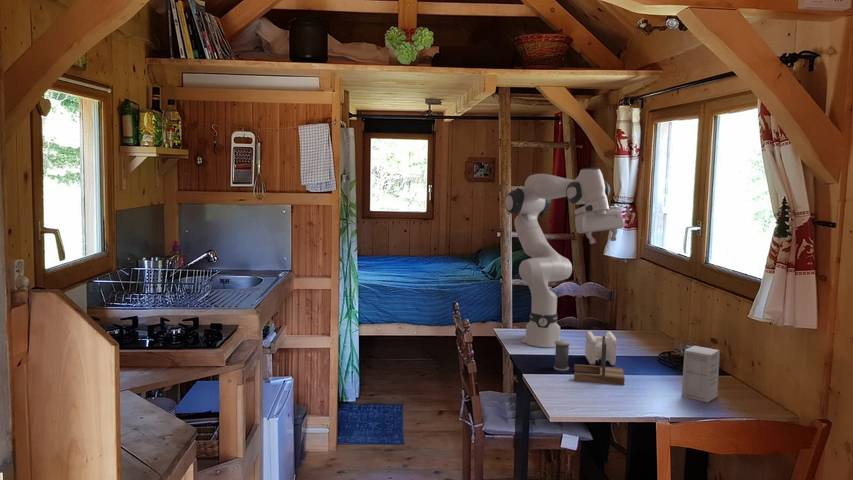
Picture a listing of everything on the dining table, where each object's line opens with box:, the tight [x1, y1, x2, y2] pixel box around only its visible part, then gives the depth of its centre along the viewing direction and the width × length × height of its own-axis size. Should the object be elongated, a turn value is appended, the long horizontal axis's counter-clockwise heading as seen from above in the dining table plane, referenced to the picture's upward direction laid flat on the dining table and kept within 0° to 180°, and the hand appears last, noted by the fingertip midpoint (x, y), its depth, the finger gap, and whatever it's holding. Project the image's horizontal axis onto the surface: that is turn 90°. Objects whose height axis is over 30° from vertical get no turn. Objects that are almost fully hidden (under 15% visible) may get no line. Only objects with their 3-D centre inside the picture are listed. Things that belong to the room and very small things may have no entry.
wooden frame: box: [573, 335, 625, 386], centre depth 260 cm, size 13×18×14 cm
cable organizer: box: [584, 330, 617, 366], centre depth 280 cm, size 15×11×12 cm
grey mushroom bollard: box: [553, 339, 571, 372], centre depth 270 cm, size 6×6×11 cm
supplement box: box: [681, 345, 721, 403], centre depth 240 cm, size 10×9×17 cm
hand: (603, 242), depth 268 cm, fingers open, 8 cm apart
